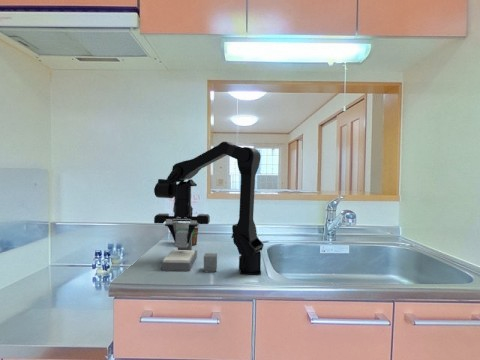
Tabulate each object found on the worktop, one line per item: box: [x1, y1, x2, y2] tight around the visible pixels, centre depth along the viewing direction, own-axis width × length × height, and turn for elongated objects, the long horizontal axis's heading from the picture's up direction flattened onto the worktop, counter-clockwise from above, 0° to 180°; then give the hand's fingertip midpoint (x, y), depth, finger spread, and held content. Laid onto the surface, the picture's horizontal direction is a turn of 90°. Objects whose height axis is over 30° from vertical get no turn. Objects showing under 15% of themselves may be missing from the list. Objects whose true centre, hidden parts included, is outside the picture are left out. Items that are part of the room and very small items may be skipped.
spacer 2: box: [203, 252, 218, 273], centre depth 105 cm, size 4×4×5 cm
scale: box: [161, 236, 198, 272], centre depth 112 cm, size 9×17×8 cm, turn 0°
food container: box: [175, 221, 200, 247], centre depth 139 cm, size 12×6×10 cm, turn 62°
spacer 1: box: [174, 231, 189, 248], centre depth 114 cm, size 4×4×5 cm
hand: (182, 243), depth 114 cm, fingers closed on spacer 1, 4 cm apart
